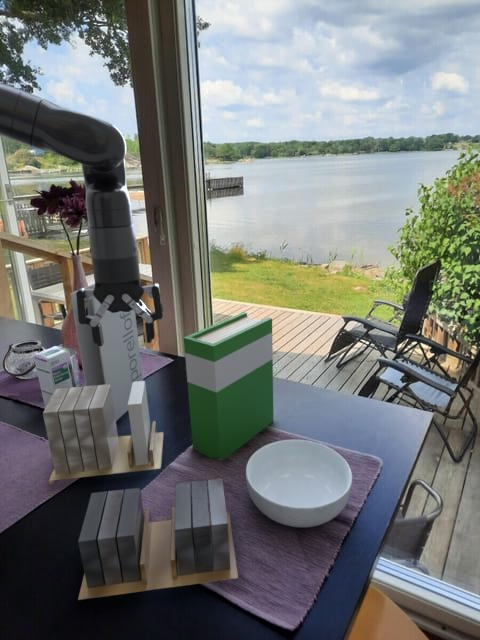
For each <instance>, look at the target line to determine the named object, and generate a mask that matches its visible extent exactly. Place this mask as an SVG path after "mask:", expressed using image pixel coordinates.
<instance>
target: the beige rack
mask: <svg viewBox="0 0 480 640" xmlns="http://www.w3.org/2000/svg"><path fill="white" fill-rule="evenodd" d="M42 416H43V421H44V427H45V431H46V435H47V440H48V445H49V449H50V454H51V460H52V465H53V470H52V472H51V475H50V477H49V478H48V484H49V486H52V485H54V483H55V481H58V480H69V479H78V478H88V477H96V476H97V477H98V476H105V475H106V476H107V475H114V474H125V473H135V472H142V471H152V470H160V469H162V465H163V453H164V452H163V450H164V436H165V435H164V431H161V432H158V430H157V421H156V420H153V421H152V424H151V440H150V448H149V452H150V457H149V464H145V465H136V463H135V455H134V448H133V441H132V433H131V432H130V435H121V436H119V434H118V428H117V427H118V426H117V421H116V419H115V413H114V406H113V399H112V392H111V386H110V384H106V385H98V386H97V385H94V386H76V387H72V388H70V389H69V388H60V389H56V391H55V392H54V394H53V396H52V398H51V399H50V401H49V403H48V405H47V406H46V408H45V407H44V410H43V412H42Z"/></svg>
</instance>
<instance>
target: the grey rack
mask: <svg viewBox="0 0 480 640" xmlns="http://www.w3.org/2000/svg"><path fill="white" fill-rule="evenodd" d="M224 489H225V488H224V482H223V478H213V479H204V480H195V481H187V482H179V483H175V489H174V491H175V492H174V505H172V506H171V519H166V520H158V521H152V517H151V516H152V515H151V509H150V508H146V509H145V511H144V506H143V499H142V492H141V488H140V487H134V488H126V489H115V490H108V491H98V492H92V493H91V494H90V498H89V502H88V506H87V509H86V512H85V516H84V519H83V523H82V526H81V530H80V534H79V537H78V541H77V543H78V547H79V553H80V558H81V562H82V567H83V573H84V574H83V577H82V582H81V585H80V589H79V594H78V598H77V600H78V601H82V600H87V599H95V598H102V597H103V598H104V597H110V596H119V595H125V594H131V593H139V592H146V591H147V592H149V591H153V590H161V589H169V588H177V587H183V586H191V585H199V584H204V583H205V584H207V583H212V582H220V581H227V580H235V579H239V573H238V566H237V557H236V552H235V544H234V536H233V530H232V522H231V516H230V515H231V514H230V512H227V504H226V498H225V490H224Z"/></svg>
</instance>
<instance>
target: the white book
mask: <svg viewBox="0 0 480 640" xmlns="http://www.w3.org/2000/svg"><path fill="white" fill-rule="evenodd" d="M146 385H147V384H146V380H143V381H138V382H133V383H132V388H131V392H130V397H129V401H128V411H127V412H128V419H129V425H130V434H131V433H132V441H133V448H134V455H135V463H136V465H145V464H149V457H150V452H149V448H150V440H151V431H152V426H151V420H150V410H149V403H148V395H147V386H146Z"/></svg>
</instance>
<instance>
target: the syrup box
mask: <svg viewBox="0 0 480 640" xmlns="http://www.w3.org/2000/svg"><path fill="white" fill-rule="evenodd" d="M33 360H34V364H35V369H36V373H37V378H38V382H39V387H40V390H41V391H40V392H41V396H42V400H43V404H44V409H45V408H46V406H47V405H48V403H49V401H50V399H51V398H52V396H53V394H54V392H55V391H56V389H60V388H69V389H70V388H72V387H77V385H76V380H75V374H74V369H73V364H72V358H71V353H70V350H69V349H67V348H65V347H61V346H57V345H54V346H52V347H50V348H47V349H45V350H42V351H39V352H36V353H34V354H33Z"/></svg>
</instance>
